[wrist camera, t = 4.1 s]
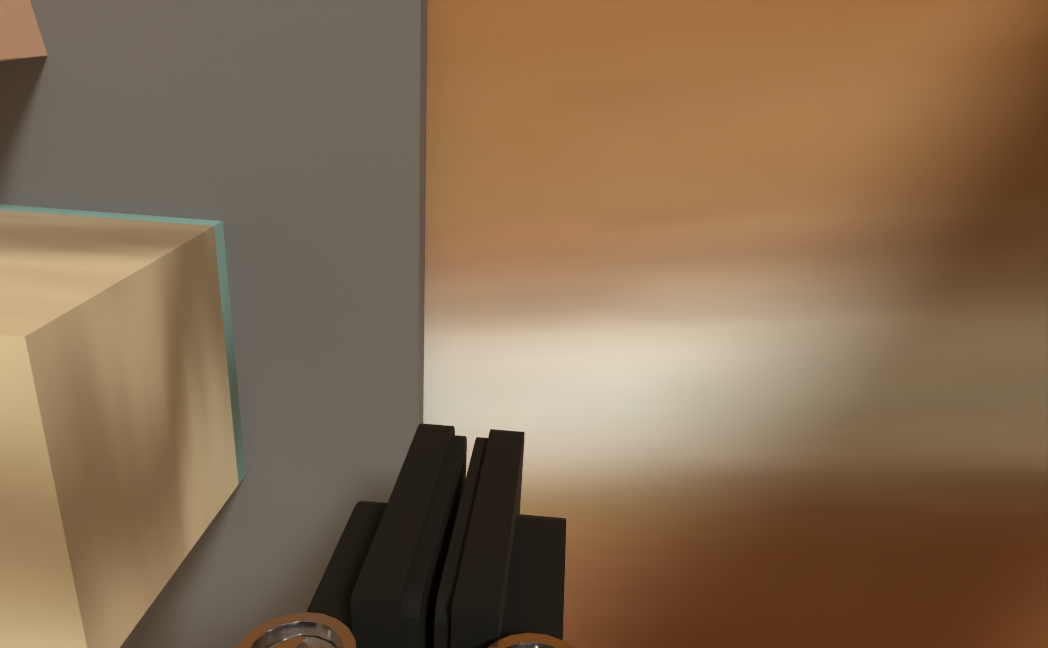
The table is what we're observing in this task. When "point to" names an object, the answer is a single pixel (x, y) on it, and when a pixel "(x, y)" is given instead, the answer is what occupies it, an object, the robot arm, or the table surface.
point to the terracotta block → (19, 31)
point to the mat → (257, 247)
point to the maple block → (108, 415)
